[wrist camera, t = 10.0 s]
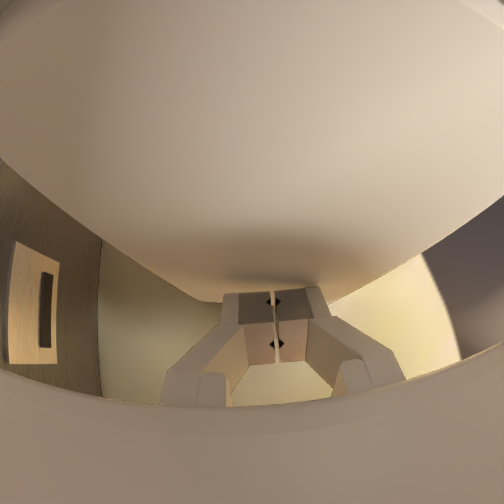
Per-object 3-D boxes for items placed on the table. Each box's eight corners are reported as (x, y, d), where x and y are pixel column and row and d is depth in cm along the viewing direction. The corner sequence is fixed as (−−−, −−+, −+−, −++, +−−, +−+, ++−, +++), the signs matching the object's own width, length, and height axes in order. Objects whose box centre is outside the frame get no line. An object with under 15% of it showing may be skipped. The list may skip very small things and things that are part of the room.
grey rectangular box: (137, 521, 10) (74, 589, 1) (79, 501, 10) (7, 545, 1) (107, 232, 17) (10, 149, 7) (54, 240, 17) (-37, 179, 7)
